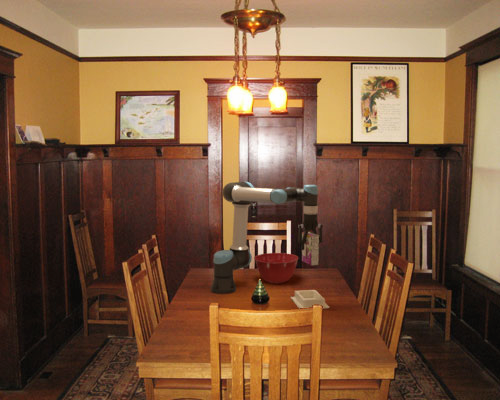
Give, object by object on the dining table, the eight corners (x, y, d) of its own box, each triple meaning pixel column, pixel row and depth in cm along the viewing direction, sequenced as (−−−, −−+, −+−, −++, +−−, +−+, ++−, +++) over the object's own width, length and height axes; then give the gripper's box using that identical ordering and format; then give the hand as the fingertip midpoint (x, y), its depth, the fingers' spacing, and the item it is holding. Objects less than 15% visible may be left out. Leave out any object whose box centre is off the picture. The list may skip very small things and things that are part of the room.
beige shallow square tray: (300, 309, 246) (300, 301, 246) (290, 297, 266) (290, 290, 265) (329, 308, 249) (329, 299, 248) (317, 296, 269) (317, 288, 268)
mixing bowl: (248, 284, 292) (248, 260, 290) (261, 273, 319) (261, 251, 317) (292, 288, 283) (292, 264, 281) (302, 276, 310) (302, 254, 308)
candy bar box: (301, 261, 259) (301, 232, 257) (309, 260, 261) (309, 231, 259) (310, 266, 249) (311, 235, 247) (319, 265, 250) (319, 235, 249)
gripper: (295, 214, 247) (295, 257, 249) (329, 213, 250) (328, 256, 252) (292, 212, 254) (291, 254, 256) (324, 212, 257) (324, 253, 260)
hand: (309, 255), depth 254 cm, fingers closed on candy bar box, 6 cm apart
